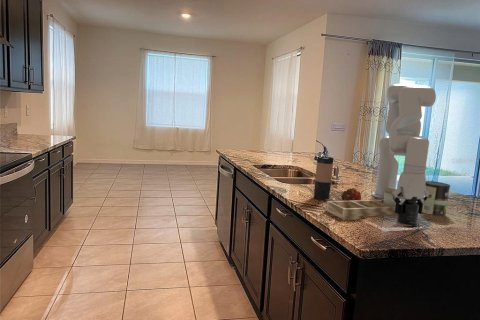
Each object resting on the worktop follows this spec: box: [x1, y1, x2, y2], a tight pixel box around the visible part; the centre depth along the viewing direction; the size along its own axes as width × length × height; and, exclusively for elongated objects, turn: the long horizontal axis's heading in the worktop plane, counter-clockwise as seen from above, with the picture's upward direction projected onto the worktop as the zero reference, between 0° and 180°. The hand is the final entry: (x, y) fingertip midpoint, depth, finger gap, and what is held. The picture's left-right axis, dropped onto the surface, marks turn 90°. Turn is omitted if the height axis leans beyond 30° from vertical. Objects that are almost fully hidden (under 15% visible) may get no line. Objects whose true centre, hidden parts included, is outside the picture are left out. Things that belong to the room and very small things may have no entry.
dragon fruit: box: [340, 187, 362, 201], centre depth 167 cm, size 8×8×12 cm
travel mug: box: [313, 156, 334, 201], centre depth 174 cm, size 8×8×20 cm
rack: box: [325, 199, 398, 221], centre depth 154 cm, size 34×13×4 cm, turn 110°
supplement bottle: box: [397, 197, 419, 229], centre depth 140 cm, size 7×7×12 cm
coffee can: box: [422, 180, 451, 216], centre depth 159 cm, size 10×10×14 cm
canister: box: [383, 188, 397, 207], centre depth 157 cm, size 6×6×9 cm
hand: (408, 213), depth 140 cm, fingers open, 9 cm apart
